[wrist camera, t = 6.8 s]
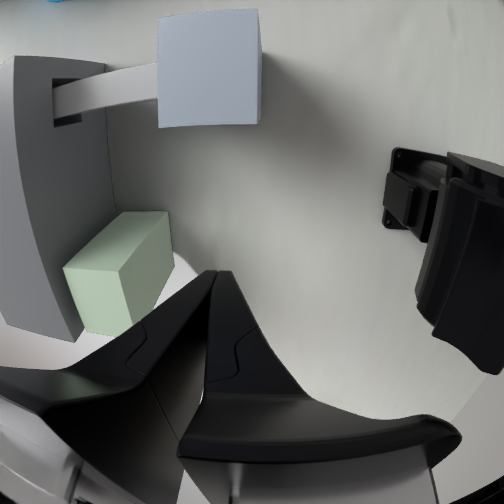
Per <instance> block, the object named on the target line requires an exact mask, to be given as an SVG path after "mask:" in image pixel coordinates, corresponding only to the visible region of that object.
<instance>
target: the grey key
mask: <svg viewBox="0 0 504 504" xmlns="http://www.w3.org/2000/svg"><path fill="white" fill-rule="evenodd" d="M261 99H262V46H261V36H260V26H259V17H258V9H236V10H218V11H206V12H197V13H189V14H181V15H175V16H168V17H163V18H159V22H158V51H157V63H151V64H145V65H140V66H135V67H130V68H125V69H120V70H116V71H112V72H107V73H103V74H99V75H96V76H92V77H88V78H85V79H81V80H78V81H75V82H72V83H68V84H65V85H62V86H59V87H57V88H54V89H52V107H53V121H54V120H57V119H61V118H65V117H69V116H73V115H77V114H81V113H85V112H89V111H94V110H99V109H103V108H108V107H114V106H119V105H125V104H131V103H137V102H144V101H152V100H158V125H159V128H166V127H179V126H194V125H219V124H257V123H258V122H259V120H260V119H261Z"/></svg>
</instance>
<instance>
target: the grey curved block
mask: <svg viewBox="0 0 504 504" xmlns="http://www.w3.org/2000/svg"><path fill="white" fill-rule="evenodd" d="M103 73H105V64H104V63H97V62H90V61H83V60H75V59H66V58H55V57H40V56H13V57H11V58H10V59H8V60H6V61H4V62H3V63H1V64H0V311H1V313H2V315H3V317H4V319H5V321H6V323H7V324H8V325H10V326H13V327H17V328H20V329H23V330H27V331H30V332H34V333H37V334H41V335H45V336H48V337H52V338H56V339H60V340H64V341H69V342H73V343H75V342H76V341H77V339H78V337H79V336H80V334H81V333H82V331H83V330H84V328H85V327H84V324H83V322H82V320H81V317H80V315H79V312H78V310H77V307H76V304H75V302H74V299H73V297H72V294H71V291H70V288H69V285H68V283H67V280H66V277H65V274H64V271H63V267H64V266H65V265H66V264H67V263H68V262H69V261H70V260H71V259H72V258H73V257H74V256H75V255H76V254H77V253H78V252H79V251H80V250H81V249H82V248H83V247H85V246H86V245H87V244H88V243H89V242H90V241H91V240H92V239H93V238H94V237H95V236H96V235H97V234H99V233H100V232H101V231H102V230H103V229H104V228H105V227H106V226H108V225H109V224H110V223H111V222H112V221H113V220H114V219H116V218H117V213H116V207H115V201H114V194H113V187H112V179H111V171H110V163H109V153H108V142H107V129H106V112H105V108H103V109H99V110H94V111H89V112H85V113H81V114H77V115H73V116H69V117H65V118H61V119H57V120H54V121H53V107H52V89H54V88H57V87H59V86H62V85H65V84H68V83H72V82H75V81H78V80H81V79H85V78H88V77H92V76H96V75H99V74H103Z"/></svg>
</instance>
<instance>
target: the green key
mask: <svg viewBox="0 0 504 504" xmlns="http://www.w3.org/2000/svg"><path fill="white" fill-rule="evenodd" d="M174 267H175V265H174V258H173V250H172V243H171V235H170V226H169V217H168V211H132V212H123V213H121V214H120V215H119V216H118V217H117V218H116V219H114V220H113V221H112V222H111V223H110V224H109V225H108V226H106V227H105V228H104V229H103V230H102V231H101V232H100V233H99V234H97V235H96V236H95V237H94V238H93V239H92V240H91V241H90V242H89V243H88V244H87V245H86V246H85V247H83V248H82V249H81V250H80V251H79V252H78V253H77V254H76V255H75V256H74V257H73V258H72V259H71V260H70V261H69V262H68V263H67V264H66V265H65V266H64V267H63V271H64V274H65V277H66V280H67V283H68V285H69V288H70V291H71V294H72V297H73V299H74V302H75V304H76V307H77V310H78V312H79V315H80V317H81V320H82V322H83V324H84V327H85V329H86V331H87V332H90V333H96V334H102V335H108V336H114V337H118V336H119V335H121V334H122V333H123V332H125V331H126V330H127V329H129V328H130V327H132V326H133V325H134V324H135V323H137V322H138V321H141V319H142V318H143V317H145V316H146V315H147V314H149V313H150V312H151V311H152V310H153V308H154V306H155V304H156V302H157V300H158V297H159V296H160V294H161V292H162V290H163V288H164V286H165V284H166V282H167V280H168V278H169V276H170V274H171V272H172V270H173V268H174Z"/></svg>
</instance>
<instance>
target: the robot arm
mask: <svg viewBox="0 0 504 504" xmlns="http://www.w3.org/2000/svg"><path fill="white" fill-rule="evenodd" d="M399 151H400V153H401V155H400V156H399V157H397V152H399ZM383 205H384V213H383V219H382V224H383V225H384V226H385V227H386V228H388V229H401V230H410V231H411V232H412V233H413V234H414V235H415V236H416V237H417V238H418V239H419V240H420V242H422V243H427V248H426V252H425V256H424V259H423V263H422V266H421V270H420V273H419V277H418V280H417V283H416V287H415V294H416V298H417V301H418V304H417V309H418V310H419V312H420V313H421V314H422V316H423V317H424V319H425V320H427V321H428V322H429V323H430V324H431V325H432V326H433V327H434V329H433V331H432V336H433V337H436V338H438V339H440V340H443V341H445V342H448V343H449V344H451V345H453V346H454V347H456V348H457V349H459V350H460V351H461V352H462V353H464V354H465V355H466V356H467V357H468V358H469V359H470V360H471V361H472V362H473V363H474V364H475V365H476V366H477V368H478V369H479V370H481V371H482V372H486V373H489V374H492V375H498V374H499V373H500V372H501V371H502V369H503V368H504V166H501V165H498V164H496V163H492V162H489V161H485V160H481V159H477V158H473V157H469V156H465V155H460V154H456V153H452V152H447V157H446V156H442V155H437V154H432V153H427V152H422V151H417V150H411V149H406V148H400V147H396V148H394V149H393V151H392V157H391V166H390V172H389V173H388V174H387V178H386V186H385V192H384V199H383ZM388 220H390V223H389V224H387V221H388ZM203 388H204V389H203ZM202 392H203V397H202V401H201V403H200V400H201V395H202ZM199 404H200V405H199ZM461 441H462V435H461V434H460V433H459V431H458V430H457V429H456V428H455V427H454V426H453V425H451V424H450V423H449V422H447V421H445V420H443V419H440V418H437V417H435V416H432V415H428V414H421V415H414V416H409V417H405V418H400V419H392V420H379V419H371V418H367V417H363V416H360V415H357V414H353V413H350V412H347V411H345V410H342V409H339V408H336V407H333V406H330V405H327V404H325V403H322V402H319V401H317V400H315V399H313V398H312V397H311V396H309V395H308V394H307V393H306V392H305V391H304V390H303V389H302V388H301V386H300V385H299V384H298V383H297V381H296V380H295V379H294V378H293V376H292V375H291V374H290V373H289V371H288V370H287V369H286V367H285V366H284V365H283V364H282V362H281V361H280V360H279V358H278V357H277V356H276V354H275V353H274V351H273V350H272V349H271V347H270V345H269V344H268V342H267V340H266V339H265V337H264V335H263V333H262V331H261V329H260V328H259V325H258V323H257V321H256V319H255V317H254V315H253V313H252V311H251V309H250V307H249V305H248V303H247V301H246V299H245V297H244V295H243V293H242V291H241V289H240V287H239V285H238V283H237V281H236V279H235V277H234V275H233V273H232V271H223V270H221V271H219V272H218V271H216V270H206V271H204V272H203V273H201V274H200V275H199V276H197V277H196V278H195V279H194V280H192V281H191V282H189V283H188V284H187V285H185V286H184V287H183V288H182V289H180V290H179V291H178V292H176V293H175V294H174V295H172V296H171V297H170V298H168V299H167V300H166V301H164V302H163V303H162V304H160V305H159V306H158V307H157V308H156V309H154V310H153V311H151V312H150V313H149V314H147V315H146V316H145V317H143V318H142V319H141V321H138V322H137V323H135V324H134V325H133V326H132V327H130V328H129V329H127V330H126V331H125V332H123V333H122V334H121V335H119V336H118V337H116V338H115V339H113V340H112V341H110V342H109V343H107V344H106V345H104V346H103V347H101V348H99V349H98V350H96V351H94V352H93V353H91V354H90V355H88V356H86V357H85V358H83V359H82V360H80V361H79V362H77V363H75V364H73V365H72V366H69V367H67V368H63V369H59V370H40V369H25V368H13V367H3V366H0V504H176V503H177V498H178V494H179V490H180V485H181V481H182V476H183V472H184V469H185V470H186V472H187V473H188V474H189V476H190V477H191V479H192V480H193V482H194V483H195V484H196V486H197V487H198V488H199V490H200V491H201V492H202V494H203V495H204V496H205V497H206V498H207V500H208V501H209V502H210V503H211V504H439V499H438V495H437V490H436V486H435V481H434V478H433V473H432V470H431V469H432V468H433V467H435V466H436V465H437V464H438V463H439V462H441V461H442V460H443V459H444V458H446V457H447V456H448V455H449V454H450V453H451V452H452V451H454V450H455V449H456V448H457V447H458V445H459V444H460V443H461ZM450 504H504V476H502V477H501V478H499V479H497V480H496V481H494V482H492V483H490V484H488V485H487V486H485V487H483V488H481V489H479V490H477V491H475V492H473V493H471V494H469V495H467V496H465V497H463V498H461V499H459V500H457V501H454V502H452V503H450Z"/></svg>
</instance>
